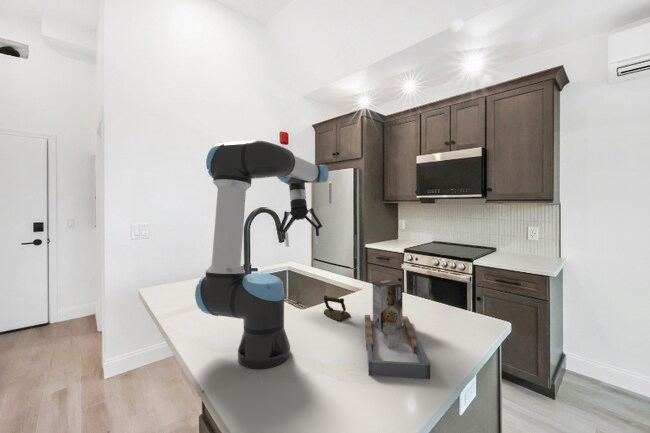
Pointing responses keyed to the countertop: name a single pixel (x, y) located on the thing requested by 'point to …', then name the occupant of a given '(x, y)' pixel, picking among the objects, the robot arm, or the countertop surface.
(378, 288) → the cookie box
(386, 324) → the chip
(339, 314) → the clothes iron
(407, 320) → the slot rails
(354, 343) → the countertop surface
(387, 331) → the chip
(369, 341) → the tray
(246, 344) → the robot arm
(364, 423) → the countertop surface
